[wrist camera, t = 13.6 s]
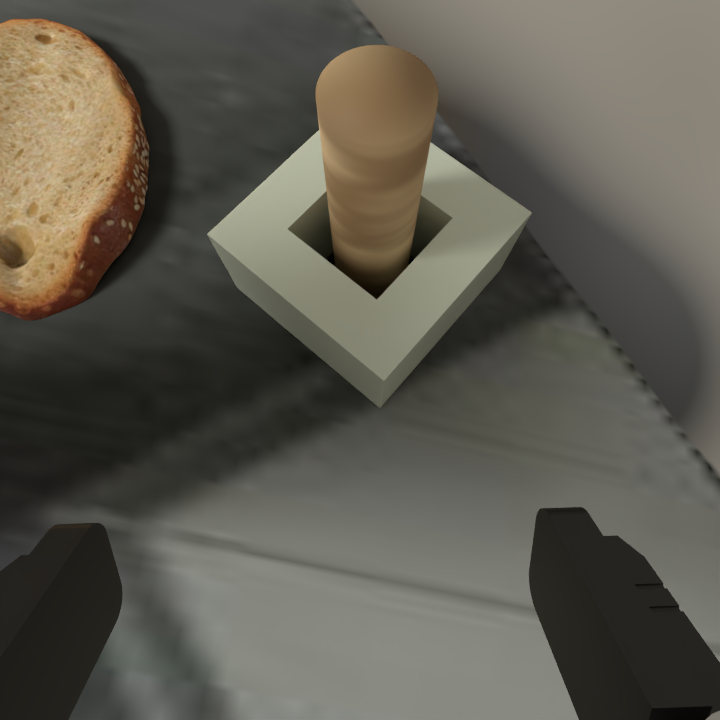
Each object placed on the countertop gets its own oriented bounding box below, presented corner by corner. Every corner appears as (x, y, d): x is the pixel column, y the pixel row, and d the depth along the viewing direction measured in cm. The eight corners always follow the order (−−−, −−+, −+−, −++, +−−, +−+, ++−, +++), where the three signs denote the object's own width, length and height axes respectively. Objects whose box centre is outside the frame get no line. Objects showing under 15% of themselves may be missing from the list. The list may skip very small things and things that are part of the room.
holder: (237, 288, 30) (207, 234, 24) (359, 167, 32) (359, 92, 26) (379, 408, 28) (383, 381, 22) (500, 270, 30) (532, 212, 24)
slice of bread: (44, 20, 37) (10, -33, 33) (240, 135, 34) (225, 90, 30) (-155, 199, 32) (-219, 160, 29) (48, 349, 29) (5, 326, 26)
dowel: (323, 284, 30) (290, 98, 16) (367, 238, 31) (370, 26, 17) (374, 325, 29) (384, 166, 16) (418, 277, 30) (463, 87, 17)
